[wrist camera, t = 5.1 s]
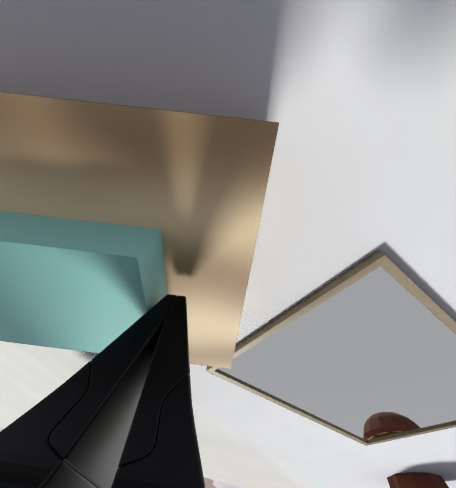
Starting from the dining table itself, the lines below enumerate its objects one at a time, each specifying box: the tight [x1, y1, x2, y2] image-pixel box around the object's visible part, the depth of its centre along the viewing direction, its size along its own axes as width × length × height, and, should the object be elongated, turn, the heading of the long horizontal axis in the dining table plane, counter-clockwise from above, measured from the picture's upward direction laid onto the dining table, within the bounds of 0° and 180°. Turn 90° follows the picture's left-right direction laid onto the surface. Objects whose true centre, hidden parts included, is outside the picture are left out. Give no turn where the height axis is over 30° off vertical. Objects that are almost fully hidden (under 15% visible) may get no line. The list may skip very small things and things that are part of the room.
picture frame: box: [206, 250, 456, 446], centre depth 20 cm, size 19×1×28 cm
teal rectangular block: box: [0, 211, 167, 353], centre depth 9 cm, size 6×9×2 cm, turn 85°
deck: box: [0, 92, 279, 369], centre depth 11 cm, size 14×14×4 cm
